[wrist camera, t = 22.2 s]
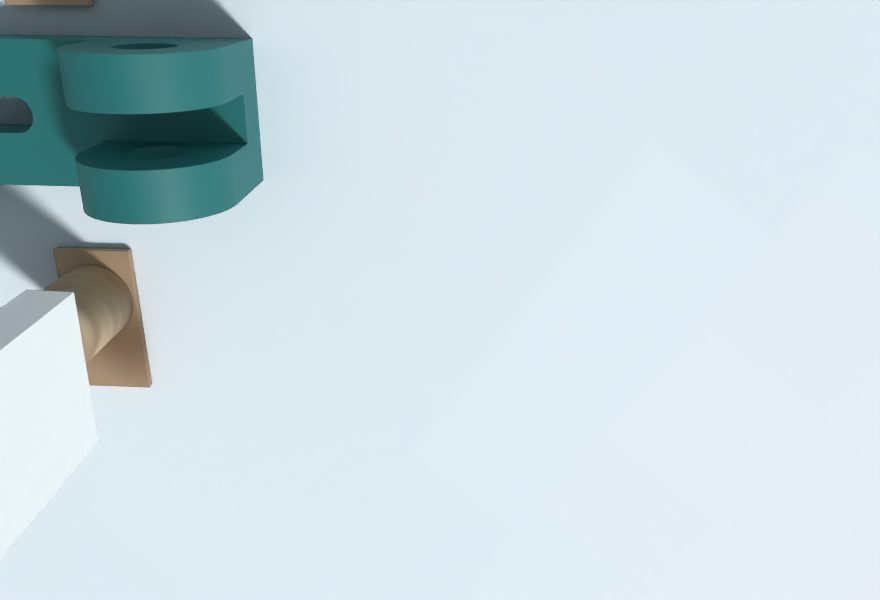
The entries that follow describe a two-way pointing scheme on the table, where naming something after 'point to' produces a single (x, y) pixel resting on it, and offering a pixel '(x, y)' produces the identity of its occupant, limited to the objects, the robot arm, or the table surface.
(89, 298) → the tan cylinder gray tip
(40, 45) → the bracket
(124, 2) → the table surface
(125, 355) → the wooden slat
